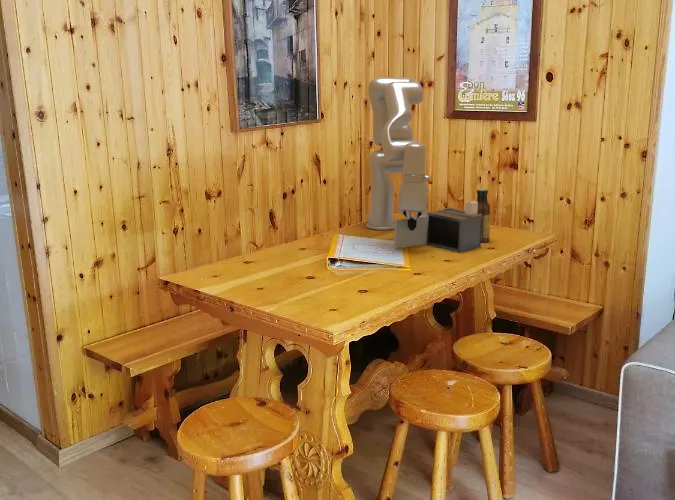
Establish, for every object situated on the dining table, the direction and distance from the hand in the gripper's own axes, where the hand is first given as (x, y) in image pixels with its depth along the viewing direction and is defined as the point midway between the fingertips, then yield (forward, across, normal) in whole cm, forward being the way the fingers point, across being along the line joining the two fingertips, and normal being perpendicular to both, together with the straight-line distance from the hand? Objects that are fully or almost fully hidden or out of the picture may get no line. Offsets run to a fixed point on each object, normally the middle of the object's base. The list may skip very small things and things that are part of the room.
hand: (411, 229), depth 254 cm
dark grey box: (+8, -14, -12) cm, 20 cm away
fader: (-4, -20, -11) cm, 23 cm away
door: (+7, +1, -6) cm, 9 cm away
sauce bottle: (+8, -24, -22) cm, 33 cm away
